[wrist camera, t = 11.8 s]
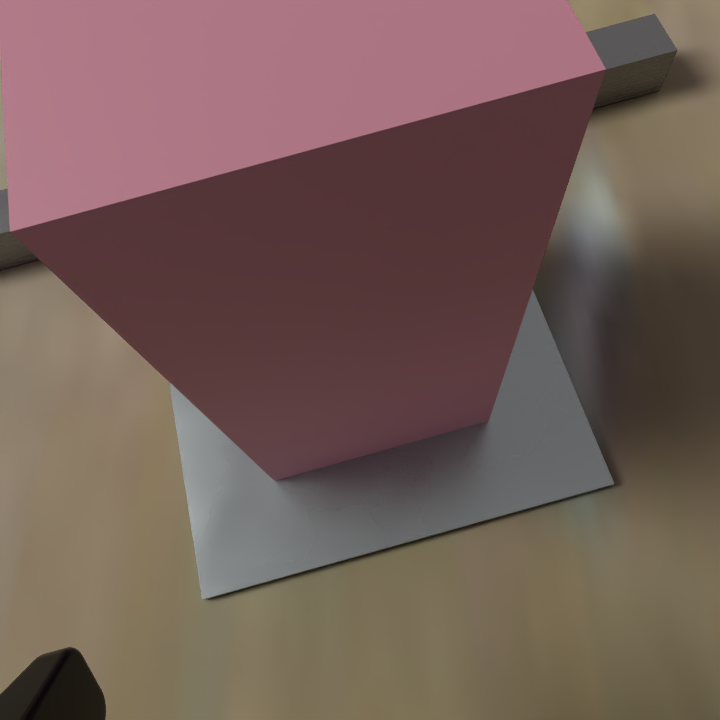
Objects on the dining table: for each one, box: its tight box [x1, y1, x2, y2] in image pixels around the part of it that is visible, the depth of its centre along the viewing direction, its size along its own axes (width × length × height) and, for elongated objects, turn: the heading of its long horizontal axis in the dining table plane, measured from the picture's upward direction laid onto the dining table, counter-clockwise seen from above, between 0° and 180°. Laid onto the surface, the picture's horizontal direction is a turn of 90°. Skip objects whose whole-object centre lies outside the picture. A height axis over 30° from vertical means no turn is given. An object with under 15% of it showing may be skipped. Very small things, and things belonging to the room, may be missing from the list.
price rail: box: [0, 14, 677, 600], centre depth 17 cm, size 22×12×2 cm, turn 105°
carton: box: [0, 0, 606, 481], centre depth 12 cm, size 6×6×11 cm
